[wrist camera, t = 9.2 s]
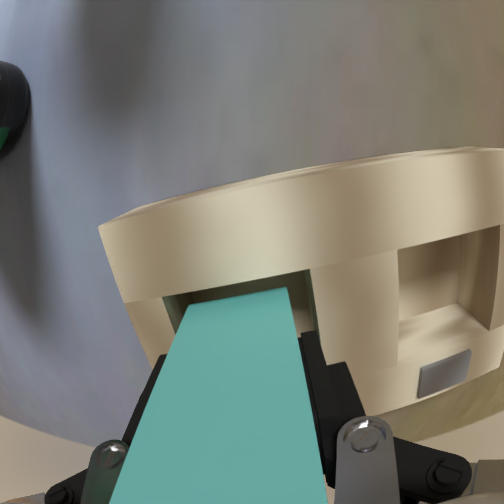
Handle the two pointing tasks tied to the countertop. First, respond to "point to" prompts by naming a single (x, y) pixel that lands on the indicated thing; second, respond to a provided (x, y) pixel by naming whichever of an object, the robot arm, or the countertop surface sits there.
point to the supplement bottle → (12, 106)
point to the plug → (228, 413)
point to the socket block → (339, 264)
